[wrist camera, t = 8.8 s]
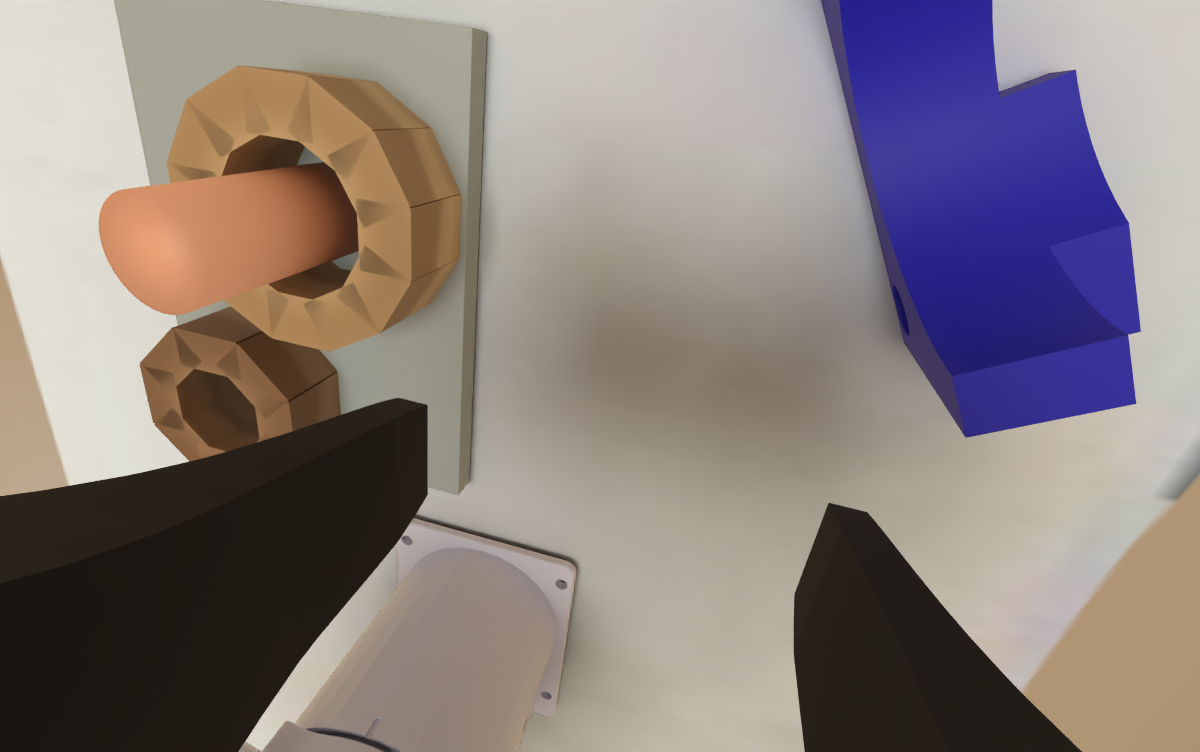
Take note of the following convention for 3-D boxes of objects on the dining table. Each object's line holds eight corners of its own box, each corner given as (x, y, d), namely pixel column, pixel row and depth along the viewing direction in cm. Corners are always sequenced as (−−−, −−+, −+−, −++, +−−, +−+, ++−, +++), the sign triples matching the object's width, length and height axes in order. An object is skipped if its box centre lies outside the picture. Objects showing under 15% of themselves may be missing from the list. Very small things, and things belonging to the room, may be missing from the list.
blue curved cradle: (1078, 295, 16) (1233, 384, 11) (903, 341, 18) (965, 437, 13) (1005, -210, 13) (1184, -442, 7) (796, -98, 14) (819, -221, 9)
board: (469, 480, 24) (458, 495, 23) (216, 414, 26) (197, 425, 25) (487, 32, 17) (472, 27, 16) (140, -14, 19) (110, -20, 18)
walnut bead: (344, 464, 24) (300, 502, 22) (217, 430, 25) (163, 462, 23) (334, 327, 21) (283, 354, 19) (193, 295, 22) (128, 316, 20)
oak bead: (457, 337, 20) (412, 371, 18) (265, 294, 21) (195, 320, 19) (463, 95, 17) (409, 91, 14) (235, 60, 18) (146, 51, 15)
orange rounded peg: (394, 253, 19) (217, 324, 13) (320, 241, 20) (119, 304, 14) (386, 164, 18) (188, 197, 12) (308, 154, 19) (83, 181, 13)
